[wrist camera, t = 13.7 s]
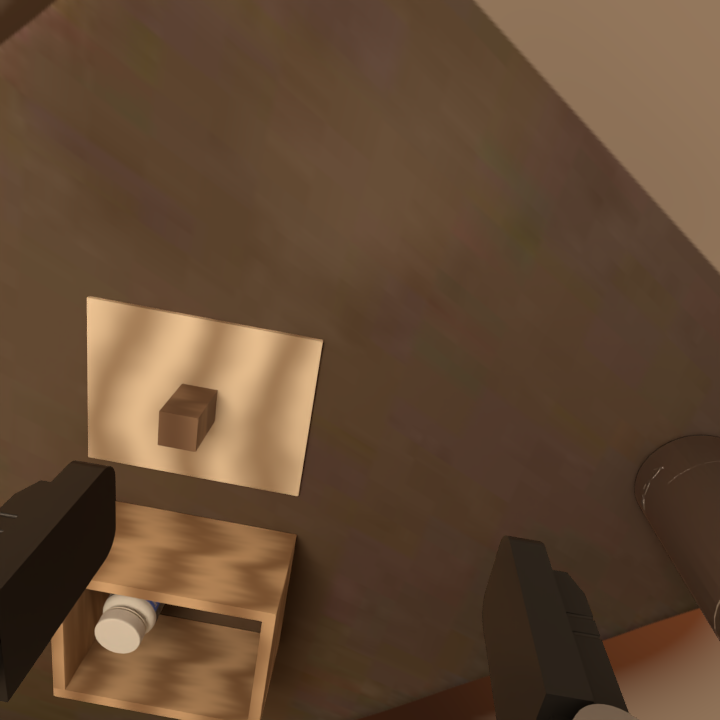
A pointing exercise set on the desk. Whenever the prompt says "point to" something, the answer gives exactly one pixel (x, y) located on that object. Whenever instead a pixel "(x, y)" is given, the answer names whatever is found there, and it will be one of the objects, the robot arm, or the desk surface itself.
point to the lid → (199, 395)
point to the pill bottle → (126, 622)
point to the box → (176, 635)
